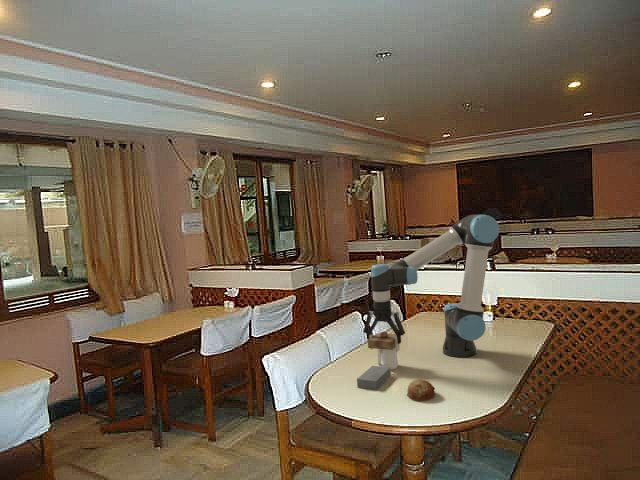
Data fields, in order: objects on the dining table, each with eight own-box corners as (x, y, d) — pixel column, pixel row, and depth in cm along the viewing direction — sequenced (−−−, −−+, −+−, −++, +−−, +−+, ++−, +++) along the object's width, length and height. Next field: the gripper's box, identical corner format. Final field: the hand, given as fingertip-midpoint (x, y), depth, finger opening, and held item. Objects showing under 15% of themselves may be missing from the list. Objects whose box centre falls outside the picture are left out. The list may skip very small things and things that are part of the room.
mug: (386, 374, 199) (385, 350, 199) (370, 370, 205) (368, 347, 204) (401, 365, 208) (400, 342, 208) (385, 362, 214) (384, 340, 213)
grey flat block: (390, 375, 197) (390, 367, 197) (376, 390, 183) (375, 381, 183) (372, 373, 201) (372, 365, 201) (357, 387, 187) (356, 378, 187)
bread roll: (409, 400, 180) (399, 383, 179) (432, 387, 180) (422, 369, 180) (417, 411, 170) (406, 393, 169) (441, 397, 170) (431, 378, 170)
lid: (400, 342, 208) (400, 330, 208) (392, 349, 198) (391, 337, 198) (377, 340, 213) (376, 328, 213) (368, 348, 204) (367, 335, 203)
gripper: (410, 299, 202) (413, 349, 204) (360, 297, 214) (363, 345, 215) (405, 302, 196) (408, 354, 197) (353, 301, 207) (356, 350, 208)
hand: (384, 349), depth 206 cm, fingers closed on lid, 11 cm apart
